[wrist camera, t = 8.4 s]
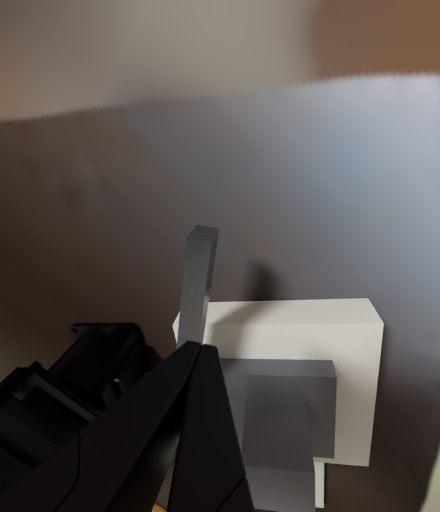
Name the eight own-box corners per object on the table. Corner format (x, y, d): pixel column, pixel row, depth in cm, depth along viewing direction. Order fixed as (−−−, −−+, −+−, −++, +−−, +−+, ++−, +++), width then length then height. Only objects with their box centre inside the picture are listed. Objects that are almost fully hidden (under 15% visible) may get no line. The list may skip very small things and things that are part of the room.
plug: (234, 404, 26) (219, 521, 18) (223, 335, 23) (199, 438, 15) (324, 408, 24) (350, 539, 16) (324, 335, 21) (358, 450, 13)
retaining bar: (203, 381, 21) (191, 425, 18) (181, 375, 21) (165, 418, 18) (228, 221, 16) (218, 243, 13) (198, 216, 16) (180, 236, 13)
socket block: (208, 421, 28) (202, 452, 25) (184, 303, 23) (172, 325, 20) (357, 430, 25) (368, 466, 22) (368, 298, 20) (383, 323, 17)
